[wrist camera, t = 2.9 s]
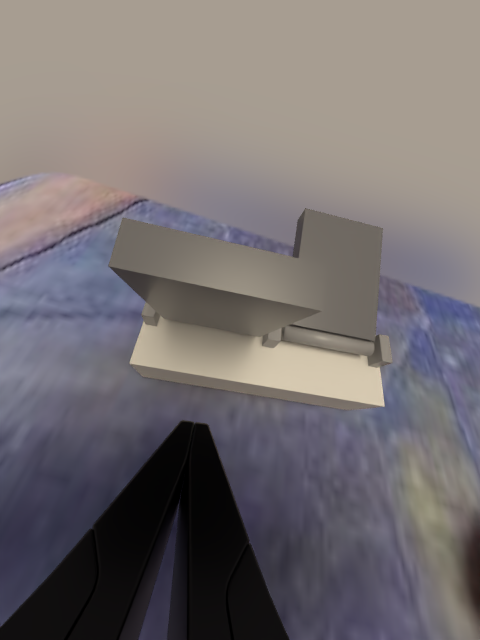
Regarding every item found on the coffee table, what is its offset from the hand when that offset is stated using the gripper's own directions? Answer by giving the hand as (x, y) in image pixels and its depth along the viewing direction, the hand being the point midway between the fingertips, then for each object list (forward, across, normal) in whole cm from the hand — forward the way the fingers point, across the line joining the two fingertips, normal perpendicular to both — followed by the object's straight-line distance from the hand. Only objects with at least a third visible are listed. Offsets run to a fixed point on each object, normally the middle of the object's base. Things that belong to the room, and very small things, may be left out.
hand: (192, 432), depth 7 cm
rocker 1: (+6, 0, -2) cm, 6 cm away
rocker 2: (+6, -6, -2) cm, 9 cm away
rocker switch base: (+9, -3, +2) cm, 10 cm away
